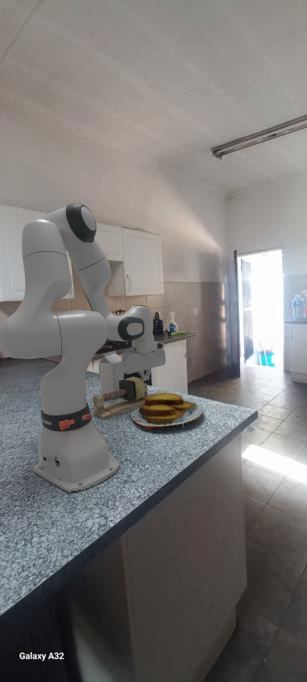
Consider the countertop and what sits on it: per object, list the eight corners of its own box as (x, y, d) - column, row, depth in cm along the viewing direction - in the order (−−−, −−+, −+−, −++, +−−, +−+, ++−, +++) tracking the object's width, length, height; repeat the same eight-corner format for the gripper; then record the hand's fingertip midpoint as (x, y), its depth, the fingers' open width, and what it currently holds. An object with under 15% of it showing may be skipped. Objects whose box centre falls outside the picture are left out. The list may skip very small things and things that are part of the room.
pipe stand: (151, 402, 116) (150, 384, 114) (103, 420, 102) (101, 399, 100) (138, 397, 122) (136, 380, 121) (90, 413, 108) (89, 394, 107)
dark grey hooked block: (134, 399, 111) (133, 382, 110) (129, 401, 110) (128, 383, 109) (125, 396, 116) (123, 379, 115) (120, 397, 115) (118, 380, 114)
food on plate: (153, 442, 85) (152, 421, 84) (119, 415, 106) (117, 397, 105) (219, 419, 97) (219, 400, 96) (177, 399, 119) (176, 383, 118)
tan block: (144, 396, 115) (143, 379, 113) (136, 399, 112) (135, 381, 111) (134, 393, 119) (133, 376, 118) (126, 395, 117) (125, 378, 116)
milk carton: (125, 394, 127) (121, 351, 124) (114, 399, 121) (111, 354, 119) (112, 392, 131) (109, 350, 128) (101, 397, 125) (97, 353, 122)
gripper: (126, 351, 107) (128, 387, 109) (167, 343, 120) (168, 376, 122) (116, 349, 112) (119, 384, 114) (157, 342, 125) (158, 373, 127)
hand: (145, 380), depth 118 cm, fingers closed
